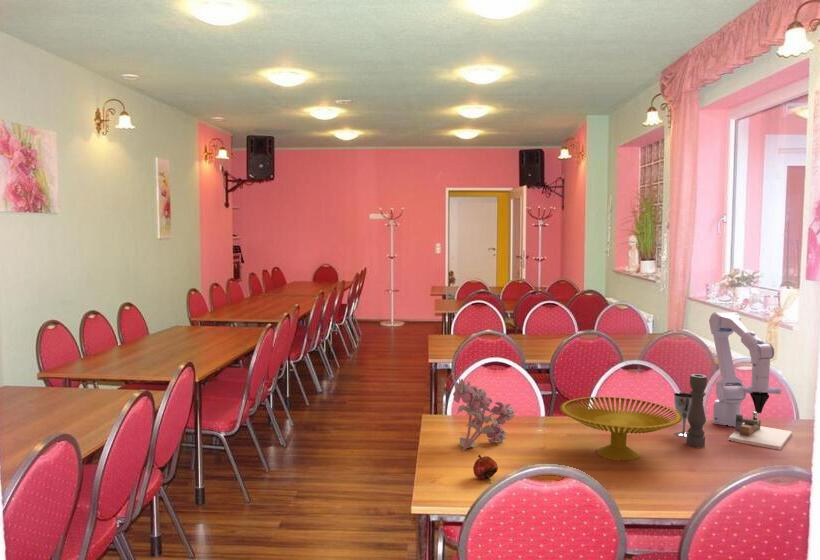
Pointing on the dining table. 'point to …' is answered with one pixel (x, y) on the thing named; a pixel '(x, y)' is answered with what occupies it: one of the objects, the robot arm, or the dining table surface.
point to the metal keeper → (743, 421)
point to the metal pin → (754, 415)
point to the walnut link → (749, 428)
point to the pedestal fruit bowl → (620, 422)
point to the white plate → (763, 437)
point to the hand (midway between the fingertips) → (758, 412)
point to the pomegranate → (485, 467)
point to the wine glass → (682, 409)
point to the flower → (481, 413)
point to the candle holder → (697, 411)
